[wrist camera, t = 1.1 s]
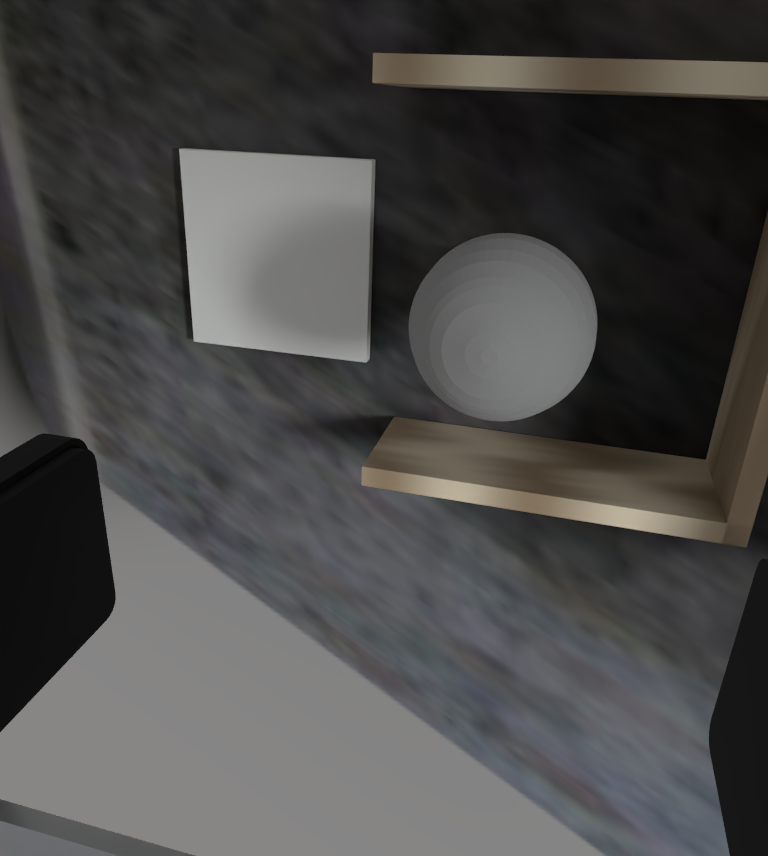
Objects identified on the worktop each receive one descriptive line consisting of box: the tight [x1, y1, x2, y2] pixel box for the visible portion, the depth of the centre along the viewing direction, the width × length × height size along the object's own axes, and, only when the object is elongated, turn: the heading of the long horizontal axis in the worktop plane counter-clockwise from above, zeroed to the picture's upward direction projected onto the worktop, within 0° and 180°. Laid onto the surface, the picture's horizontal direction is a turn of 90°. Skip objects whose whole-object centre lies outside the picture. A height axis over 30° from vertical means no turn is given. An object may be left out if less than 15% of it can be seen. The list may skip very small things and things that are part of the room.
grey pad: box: [179, 148, 376, 363], centre depth 30 cm, size 8×8×1 cm
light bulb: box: [409, 233, 597, 421], centre depth 23 cm, size 6×6×10 cm
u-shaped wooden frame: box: [362, 53, 768, 548], centre depth 25 cm, size 14×15×5 cm
